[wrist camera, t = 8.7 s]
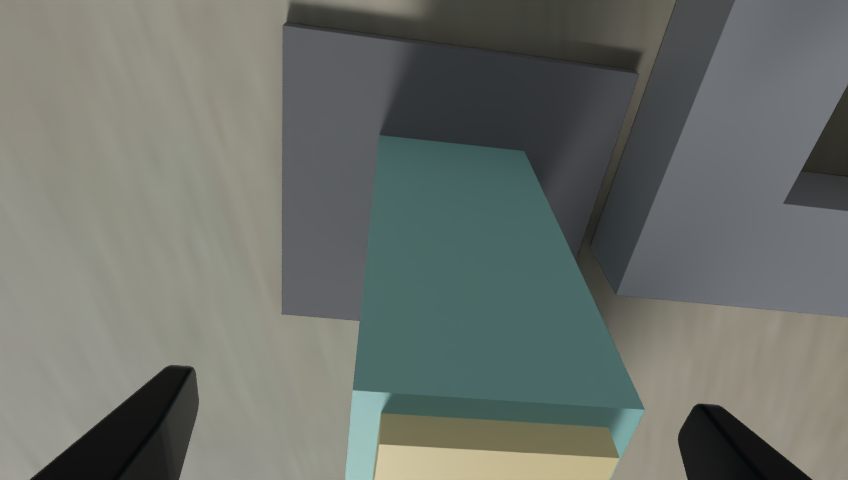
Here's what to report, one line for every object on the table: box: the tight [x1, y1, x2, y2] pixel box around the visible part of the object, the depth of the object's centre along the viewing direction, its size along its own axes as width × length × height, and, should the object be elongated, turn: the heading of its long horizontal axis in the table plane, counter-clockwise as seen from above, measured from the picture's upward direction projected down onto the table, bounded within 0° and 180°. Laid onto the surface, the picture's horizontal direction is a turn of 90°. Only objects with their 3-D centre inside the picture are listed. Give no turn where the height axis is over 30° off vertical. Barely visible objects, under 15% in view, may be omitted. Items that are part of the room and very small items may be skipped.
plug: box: [345, 135, 645, 480], centre depth 12 cm, size 4×4×10 cm
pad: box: [282, 22, 639, 321], centre depth 16 cm, size 9×9×1 cm
